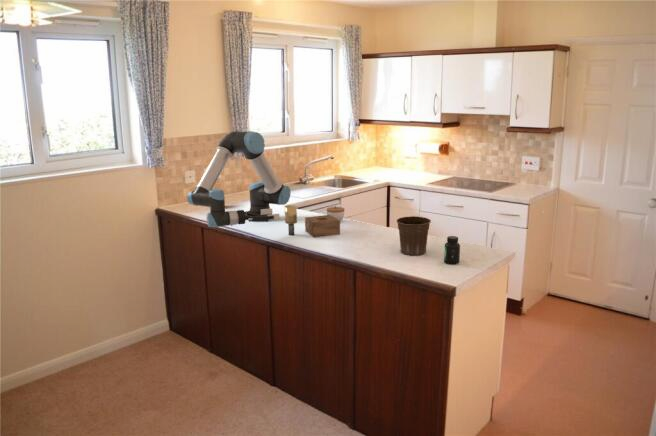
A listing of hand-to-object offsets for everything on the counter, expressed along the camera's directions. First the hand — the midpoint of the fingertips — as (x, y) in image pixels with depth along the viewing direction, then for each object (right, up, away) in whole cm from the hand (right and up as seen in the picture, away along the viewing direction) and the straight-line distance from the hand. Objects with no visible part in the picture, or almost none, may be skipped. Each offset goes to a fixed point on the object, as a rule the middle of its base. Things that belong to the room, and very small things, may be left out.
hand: (275, 213), depth 291 cm
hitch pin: (+8, -12, +6) cm, 16 cm away
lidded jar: (+33, -5, +35) cm, 48 cm away
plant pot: (+70, -19, -29) cm, 78 cm away
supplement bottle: (+85, -23, -45) cm, 99 cm away
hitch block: (+25, -11, +9) cm, 29 cm away
